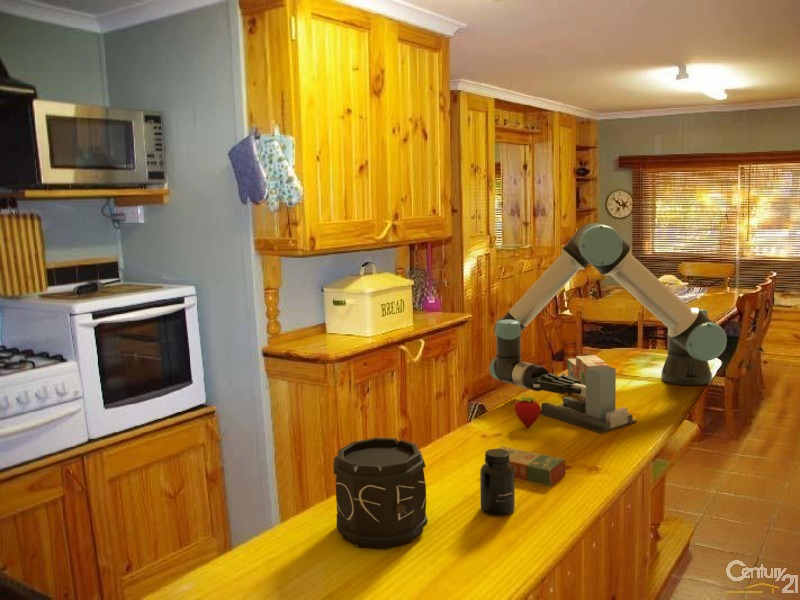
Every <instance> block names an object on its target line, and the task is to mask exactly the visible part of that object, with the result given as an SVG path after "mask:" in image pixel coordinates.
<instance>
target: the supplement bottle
mask: <svg viewBox="0 0 800 600" xmlns="http://www.w3.org/2000/svg"><path fill="white" fill-rule="evenodd" d="M484 462H486V463H484V464H483V465H482V466H480V470H479V471H480V472H479V473H480V476H479V478H480V480H479V482H480V491H479V492H480V495H479V496H480V509H481V511H482V512H483V513H484V514H486V515H489V516H493V517H503V516H508V515H511V514H512V513H513V512H514V511H515V507H516V505H515V503H516V502H515V501H516V500H515V499H516V498H515V497H516V495H515V494H516V492H515V490H516V489H515V487H516V486H515V483H516V482H515V480H516V479H515V471H514V468H513V467H512V465H510V464H509V462H510V459H509V452H508V451H506V450H503V449H498V448H492V449H491V448H490V449H488V450H486V451H485V453H484Z"/></svg>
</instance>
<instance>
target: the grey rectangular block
mask: <svg viewBox="0 0 800 600" xmlns="http://www.w3.org/2000/svg"><path fill="white" fill-rule="evenodd" d="M616 371H617V370H616V368H615V367H612V366H611V367H610V366H609V367H607V366H603V365H599V366H595V367H591V368H587V369H586V415H590V416H593V417H596V418H600V419H603V420H606V412H609V411H612V410H615V409H616V407H617V406H616V400H617V399H616V398H617V397H616V395H617V394H616V393H617V391H616V388H617V387H616V381H617V380H616Z"/></svg>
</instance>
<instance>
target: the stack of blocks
mask: <svg viewBox="0 0 800 600" xmlns="http://www.w3.org/2000/svg"><path fill="white" fill-rule="evenodd" d="M599 365H603V366H607V367H610V365H609V364H608V363H606V361H605V360H603V359H602V358H600V357H599V356H597V355H596V354H591V355H590V354H588V355H576V356H575V358H567V365H566V366H567V376H569V377H571V378H574V379H576V380H579V381H581V385H585V386H586V369H587V368H591V367H595V366H599ZM578 396H579V397H580V398H581V399H582V401H585V402H586V397H583V396H580V395H578ZM579 397H578V398H579ZM580 398H579V399H580ZM581 399H580V400H581Z"/></svg>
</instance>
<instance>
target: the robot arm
mask: <svg viewBox="0 0 800 600" xmlns="http://www.w3.org/2000/svg"><path fill="white" fill-rule="evenodd" d="M560 251H561V253H560V255H559V256H558V257H557V258H556V259H555V261H554V262H552V264H551V265H550V266H549V267H548V268H547V269H546V270H545V271H544V272H543V274H541V276H539V278H538V279H537V280H536V281H535V282H534V283H533V284H532V286H530V287H529V289H528V290H526V292H525V293H524V294H523V295H522V296H521V297H520V298H519V300H518V301H516V303H515V304H514V305H513V306H512V307H511V308H510V309H509V310H508V312H506V314H505V315H504V316H503V317H501V318H499V319H498V320H496V322H495V324H494V327H493V332H494V336H495V343H496V345H495V346H496V356H495V357H493V359H492V360H491V361H490V364H489V373H490V375H491V377H492V378H494V379H495V380H496V381H497V380H498V381H500V382H502V383H505V384H506V383H507V384H510V385H515V386H517V387H521V388H522V389H523V390H525V389H527V390H528V389H529V390H531V391H534V392H541V391H544V392H548V393H554V394H559V395H565V394H567V397H572V396H573V395H576V396H577V395H580V396H583V397H586V386H585V385H581V381H579V380H576V379H574V378H571V377H569V376H568V374H565V373H561V374H560V375H556V374H554V373H551V372H549V371H548V370H547V368H546V367H545V366H541V365H538V364H534V363H530V362H526V361H522V353H521V351H522V350H521V349H522V339H521V338H522V332H524V330H525V329H526V328H527V326H528V325H529V324H531V322H532V321H533V320H534V319H535V318H536V317H537V316H538V314H539V313H540V312H541V311H542V310H543V309H544V308H545V307H546V306H547V305H548V304H549V303H550V302H551V301H552V300H553V299H554V298H555V296H556V295H557V294H558V293H559V292H560V291H561V290H562V289H563V288H564V287H565V286H566V285H567V284H568V282H570V280H572V278H574V276H575V275H577V273H578V272H579V271H583V270H585V269H586V268H587V267H589V265H591V266H592V267H593V268H594V269H595V270H597V272H598V273H600V274H601V275H602V276H609V277H610V276H611V277H612V278H613V279H614V280H615V281H616V282H617V283H618V284H619V285H620V286H621V287H622V288H624V290H626V291H627V292H628V293H629V294H630V295H631V296H633V297H634V299H636V300H637V301H638V302H639V303H640V304H641V305H642V306H643V307H645V309H647V310H648V311H649V312H650V314H652V315H653V316H654V317H656V318H657V319H658V320H659V321H660V322H661V323H662V324H663V325H664V326H665V327H667V356H666V359H665V362H664V365H663V366H662V370H661V380H662V381H664V382H665V383H666V382H667V383H669V384H672V385H679V386H703V385H708V384H711V383H712V382H713V373H712V371H711V367H710V364H709V361H712V360H715V359H716V358H719V356H721V355H722V354H723V353H724V352H725V350H726V347H727V342H728V338H727V334H726V331H725V330H724V329H723V328H722V326H721V325H719V324H717V323H715V322H714V321H712V320H711V319H710V318H709V315H708V311H707V309H704V308H703V309H700V308H698V307H689V306H688V305H687V304H686V303H685V302H684V301H683V300H682V299H680V298H679V297H678V295H676V294H675V293H674V292H673V291H672V290H671V289H670V288H668V286H666V284H664V282H662V281H661V280H660V279H659V278H658V277H656V276H655V274H653V273H652V272H651V271H650V270H649V269H648V268H647V267H646V266H644V265H643V264H642V263H641V261H639V260H638V259H637V258H636V257H635V256H634V255H633V254H632V247H631V245H630V244H628V242H627V241H625V240H624V239H623V238H622V237H621V235H620V234H619V231H617V230H616V229H615V228H613V227H612V226H610V225H607V224H603V223H599V222H588V223H586V224H583V225H582V226H581V227H579V228H578V229H577V230H576V231H575V233H574V234H573V235H572V236H571V237H570V239H569V240H568V241H567V243H566V244H565V245H564V246H563V247H562V248H561V250H560Z"/></svg>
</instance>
